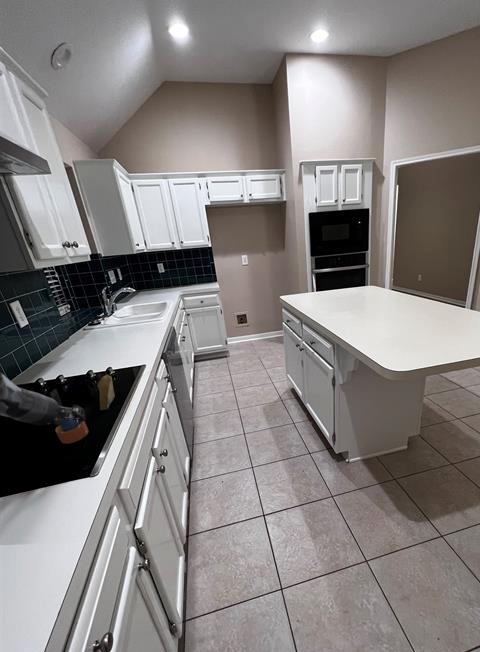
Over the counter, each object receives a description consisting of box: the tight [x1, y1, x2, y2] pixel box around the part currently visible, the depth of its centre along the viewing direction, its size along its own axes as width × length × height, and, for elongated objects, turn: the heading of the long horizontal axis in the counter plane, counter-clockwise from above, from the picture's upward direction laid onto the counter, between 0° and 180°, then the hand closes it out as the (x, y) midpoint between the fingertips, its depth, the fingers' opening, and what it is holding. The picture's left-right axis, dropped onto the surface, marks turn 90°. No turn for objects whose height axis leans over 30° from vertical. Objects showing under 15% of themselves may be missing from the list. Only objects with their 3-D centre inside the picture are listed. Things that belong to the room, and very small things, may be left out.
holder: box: [55, 420, 89, 445], centre depth 95 cm, size 7×7×4 cm
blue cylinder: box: [58, 415, 80, 431], centre depth 94 cm, size 4×4×8 cm
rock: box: [97, 374, 116, 411], centre depth 111 cm, size 11×9×10 cm
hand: (71, 420), depth 95 cm, fingers open, 6 cm apart
